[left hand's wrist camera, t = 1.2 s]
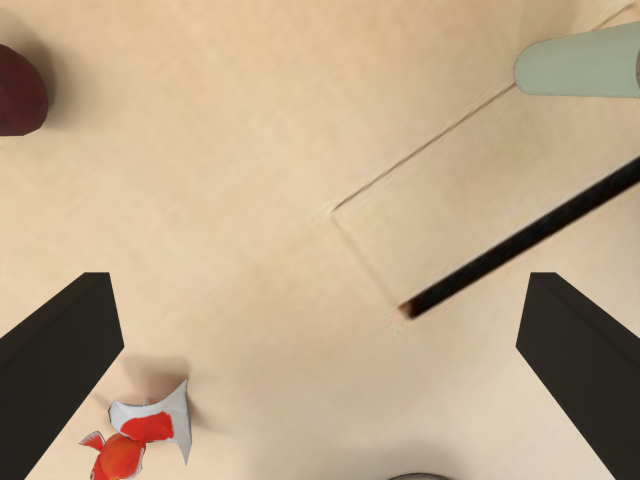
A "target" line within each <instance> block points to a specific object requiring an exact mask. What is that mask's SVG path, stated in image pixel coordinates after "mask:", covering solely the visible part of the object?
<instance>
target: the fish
mask: <svg viewBox="0 0 640 480" xmlns="http://www.w3.org/2000/svg"><path fill="white" fill-rule="evenodd" d="M187 380H188V378H187V379H186V380H185V381H183V382H182V383H181V384H180V385H179V386H178V387H177V388H176V390H175V391H174V392H172V393H171V394H170V395H168V396H167V397H166V398H164V399H163V400H161V401H160V402H159V403H156V404H151V405H145V402H146V398H145V401H144V403H143V405H129V404H123V403H120V402H118V401H116V400H114V401H113V403H112V405H111V406H110V408H109V410H108V412H109V417H110V422H111V424H112V425H113V427H114V428H115V429H116V430H117V431H119V432H118V433H117V434H114V435H113V436H111V437H110V438H109V439H108V440H107V441H106V442H105V440H104V438H103V436H102V435H101V433H100V432H99V431H96V432H93V433H91V434H90V435H88V436H87V437H86V438H85V439H83V440H82V441H81V442H80V443H79V444H81V445H84V446H89V447H92V448H94V449H96V450H98V451H99V452H101V453H100V454H99V455H98V457H97V459H96V462H95V464H94V467H93V469H92V472H91V477H90V479H91V480H119V479H123V480H129V479H133V478H135V477H136V476H137V475H138V474H139V473H140V471H141V470H142V457H143V455H144V453H145V450H146V443H150V442H157V441H168V442H175V443H176V444H177V445H178V446H179V448H180V450H181V452H182V454H183V457H184V460H185V464H186V465H187V460H188V456H189V452H190V448H191V444H192V437H191V421H190V414H189V409H188V404H187V398H186V387H187ZM145 442H146V443H145Z"/></svg>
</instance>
